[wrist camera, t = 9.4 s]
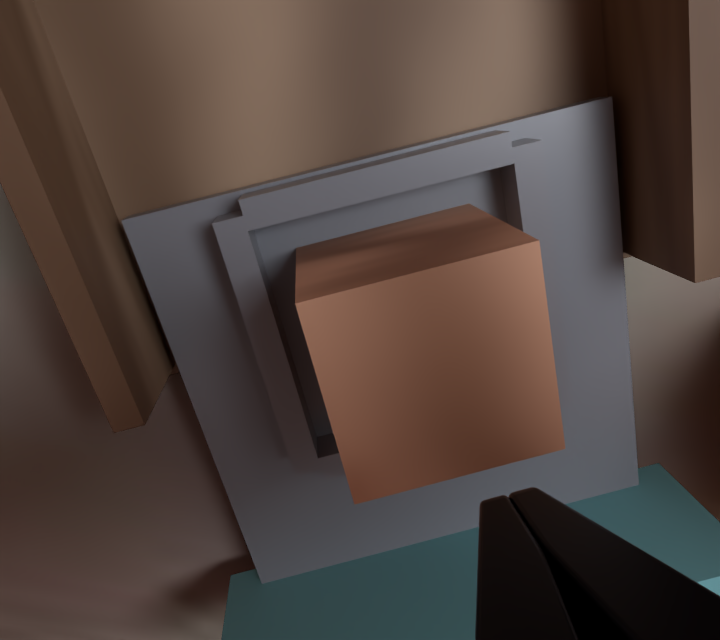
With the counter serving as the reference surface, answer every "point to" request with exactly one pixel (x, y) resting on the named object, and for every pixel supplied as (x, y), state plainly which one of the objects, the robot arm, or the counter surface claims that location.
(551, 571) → the robot arm
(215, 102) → the caddy frame
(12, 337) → the counter surface
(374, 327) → the terracotta block
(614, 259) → the sliding tray
